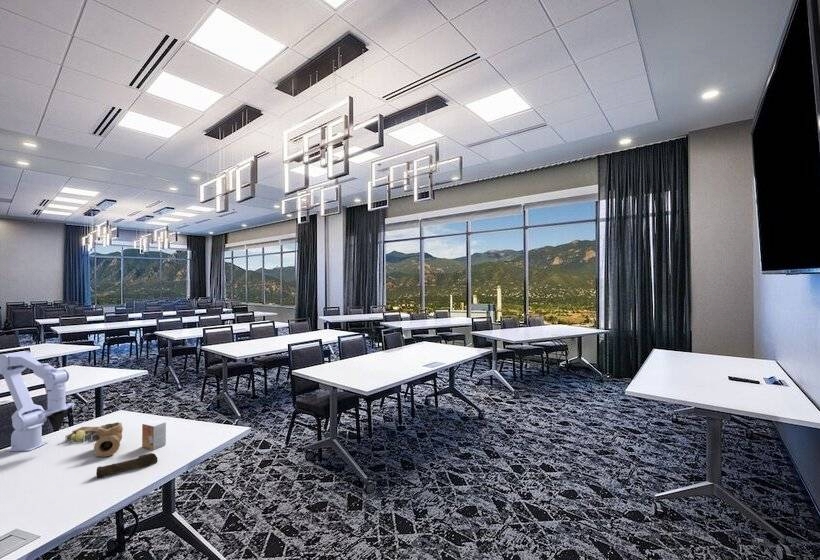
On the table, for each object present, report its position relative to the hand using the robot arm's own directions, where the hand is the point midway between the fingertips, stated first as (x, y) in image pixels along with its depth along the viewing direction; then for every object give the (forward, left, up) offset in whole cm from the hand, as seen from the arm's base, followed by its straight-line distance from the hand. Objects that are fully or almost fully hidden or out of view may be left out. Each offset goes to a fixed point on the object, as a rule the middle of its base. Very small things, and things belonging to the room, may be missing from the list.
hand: (56, 428), depth 159 cm
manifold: (+5, +12, -9) cm, 16 cm away
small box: (+41, +3, -10) cm, 42 cm away
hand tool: (+45, -17, -10) cm, 49 cm away
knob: (+1, +9, -10) cm, 13 cm away
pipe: (+24, -1, -10) cm, 26 cm away
